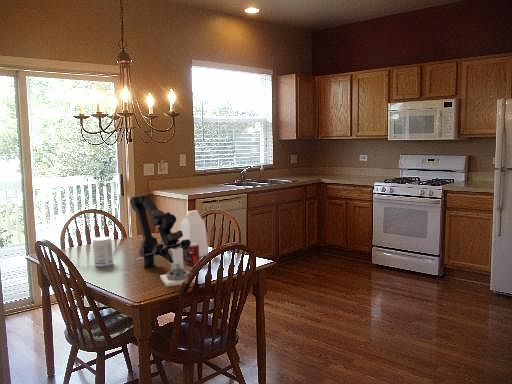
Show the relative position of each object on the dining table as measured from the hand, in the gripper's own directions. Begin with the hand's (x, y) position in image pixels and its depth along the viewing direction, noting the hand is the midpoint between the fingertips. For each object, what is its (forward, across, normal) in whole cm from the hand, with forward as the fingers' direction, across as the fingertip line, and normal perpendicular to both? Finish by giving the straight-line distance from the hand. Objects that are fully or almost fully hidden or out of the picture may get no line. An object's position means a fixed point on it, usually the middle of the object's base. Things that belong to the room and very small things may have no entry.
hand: (178, 261), depth 224 cm
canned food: (-8, +20, +22) cm, 31 cm away
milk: (-19, +30, +33) cm, 49 cm away
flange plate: (+6, 0, +8) cm, 10 cm away
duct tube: (+4, 0, +6) cm, 7 cm away
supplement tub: (-30, -17, +44) cm, 56 cm away
